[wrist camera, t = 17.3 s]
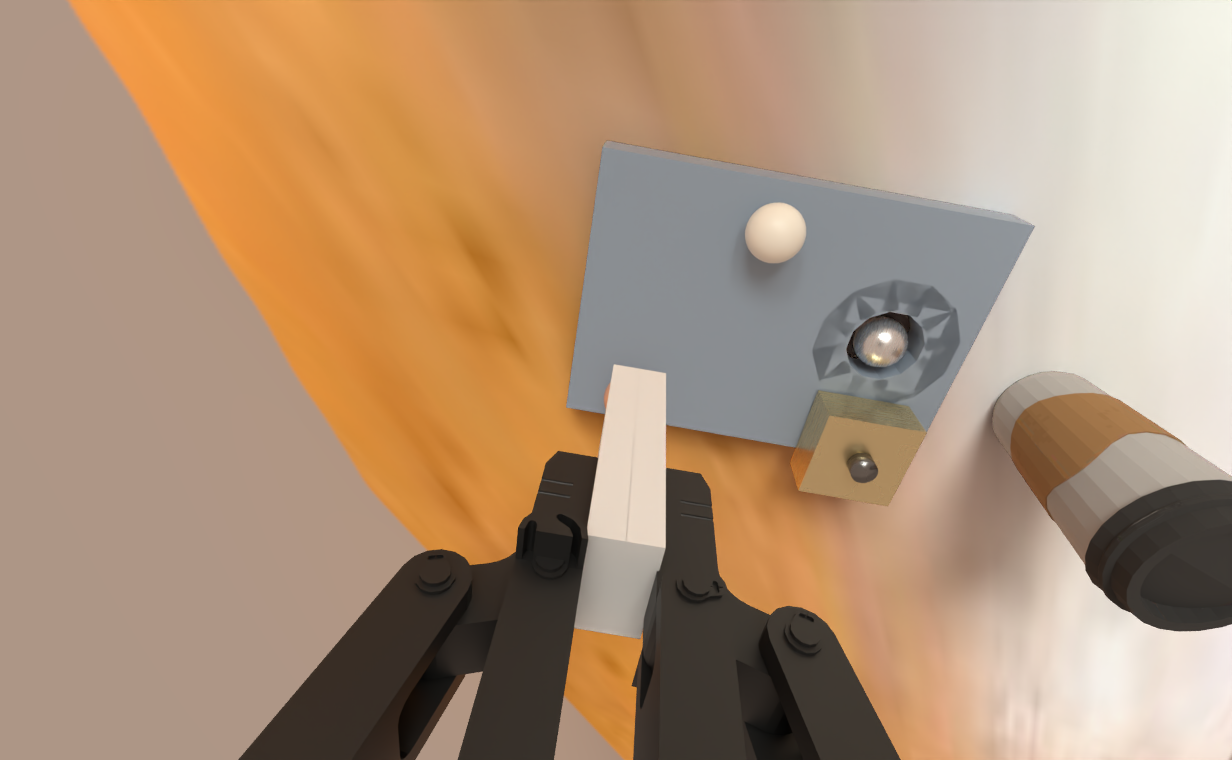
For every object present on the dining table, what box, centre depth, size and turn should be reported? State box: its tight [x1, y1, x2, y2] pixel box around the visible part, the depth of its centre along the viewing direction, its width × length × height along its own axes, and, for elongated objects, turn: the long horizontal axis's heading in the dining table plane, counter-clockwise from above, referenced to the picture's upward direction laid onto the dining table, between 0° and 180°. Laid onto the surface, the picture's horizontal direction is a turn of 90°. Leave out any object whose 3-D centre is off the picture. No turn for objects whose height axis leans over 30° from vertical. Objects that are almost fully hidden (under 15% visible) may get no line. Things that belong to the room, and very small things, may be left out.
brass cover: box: [790, 390, 927, 506], centre depth 38 cm, size 6×6×4 cm
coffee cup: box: [992, 371, 1232, 631], centre depth 34 cm, size 8×8×15 cm
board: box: [566, 141, 1035, 448], centre depth 37 cm, size 17×24×2 cm
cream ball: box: [745, 202, 806, 263], centre depth 32 cm, size 3×3×3 cm
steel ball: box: [853, 317, 908, 367], centre depth 37 cm, size 3×3×3 cm
